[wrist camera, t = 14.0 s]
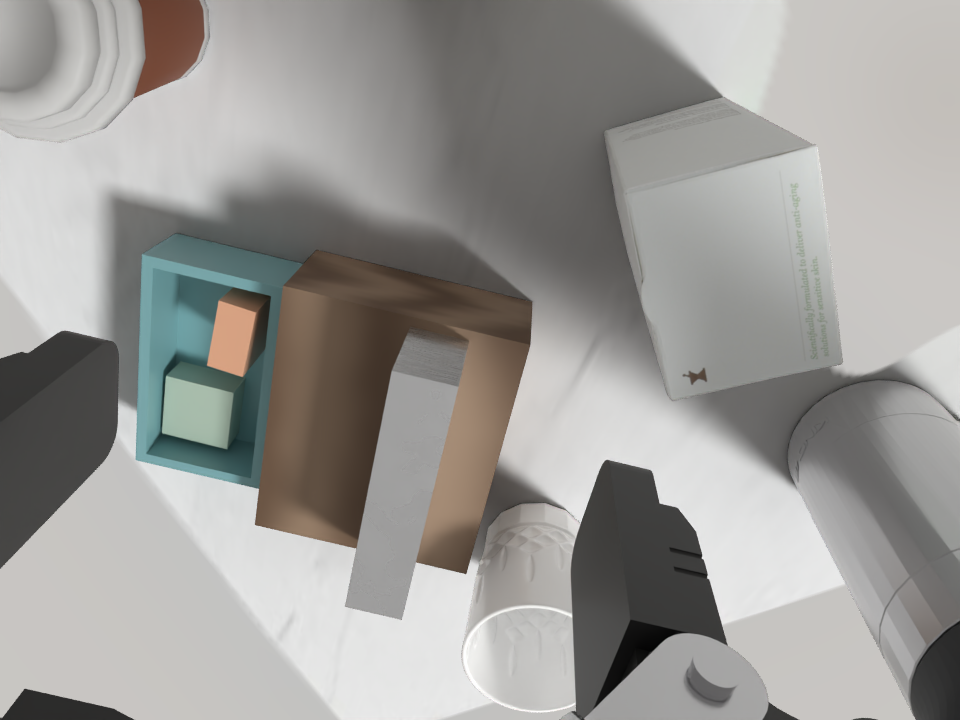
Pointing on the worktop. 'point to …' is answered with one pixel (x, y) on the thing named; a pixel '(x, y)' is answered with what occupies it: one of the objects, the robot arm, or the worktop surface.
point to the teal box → (202, 348)
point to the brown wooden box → (382, 399)
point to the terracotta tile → (239, 331)
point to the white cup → (524, 611)
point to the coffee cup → (90, 60)
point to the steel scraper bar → (405, 470)
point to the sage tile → (203, 405)
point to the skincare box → (726, 246)
